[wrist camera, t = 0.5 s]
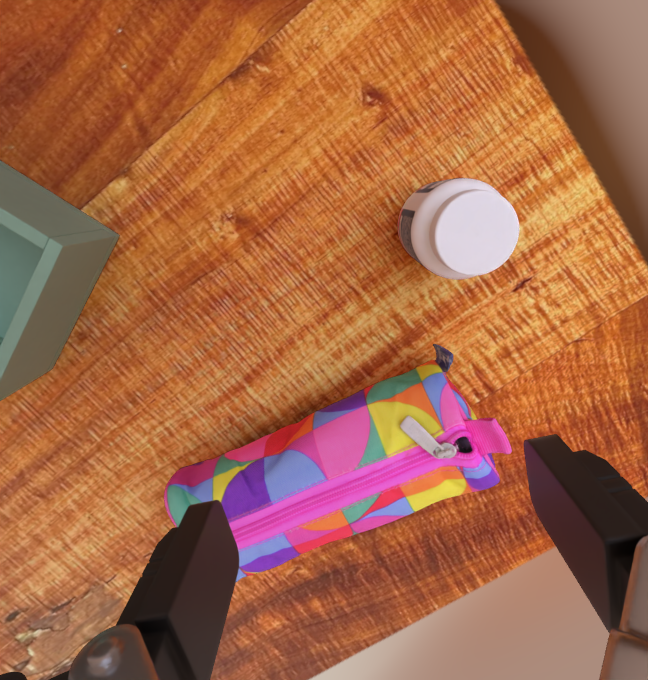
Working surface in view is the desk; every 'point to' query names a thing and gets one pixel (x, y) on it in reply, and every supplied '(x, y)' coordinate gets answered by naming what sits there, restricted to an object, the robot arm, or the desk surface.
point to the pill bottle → (458, 228)
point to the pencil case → (346, 467)
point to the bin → (42, 275)
